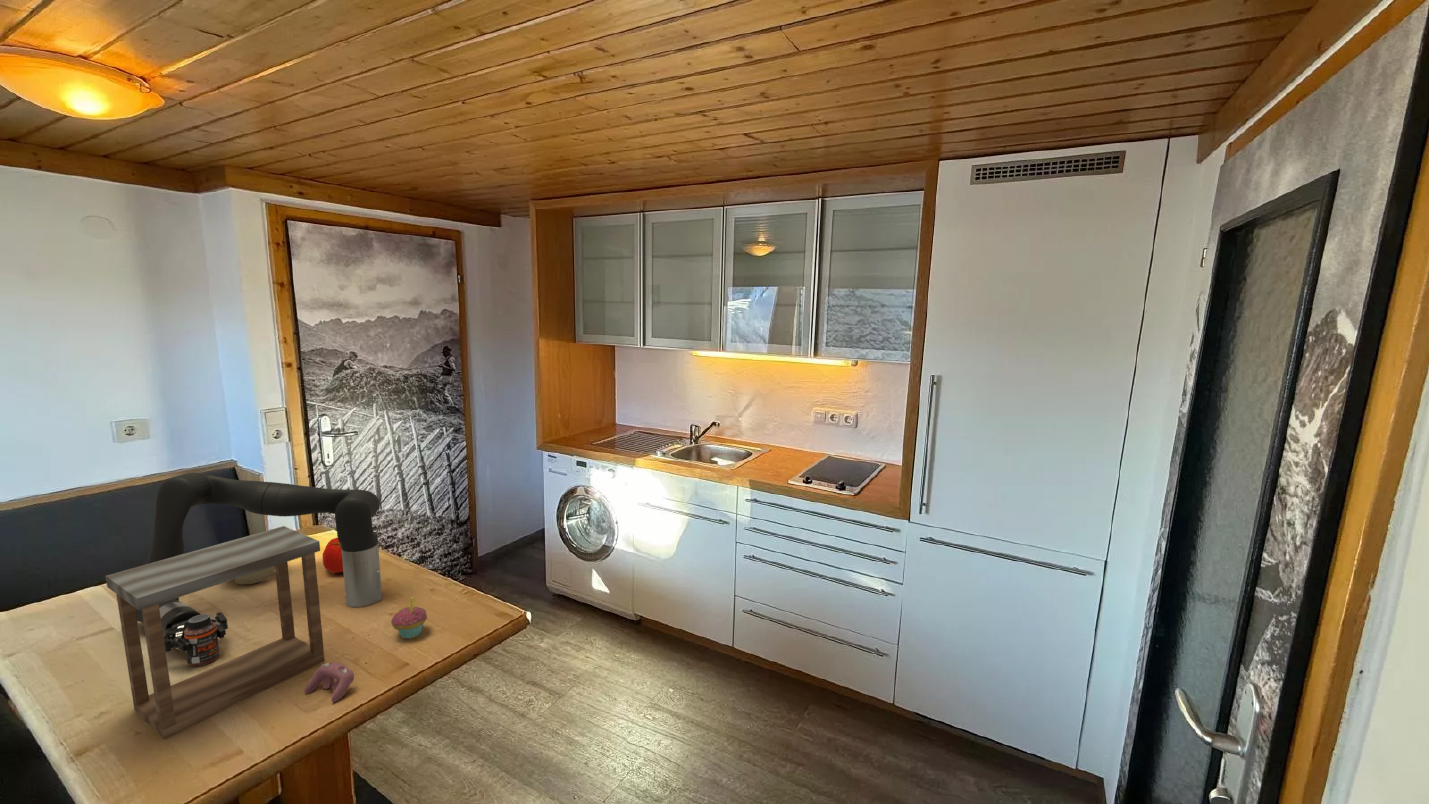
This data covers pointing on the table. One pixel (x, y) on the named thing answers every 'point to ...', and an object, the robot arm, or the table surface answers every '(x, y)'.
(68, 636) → the table surface
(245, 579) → the planter bowl
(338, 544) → the tomato
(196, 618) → the supplement bottle
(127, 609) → the under-counter shelf
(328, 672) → the video game controller
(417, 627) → the cupcake
